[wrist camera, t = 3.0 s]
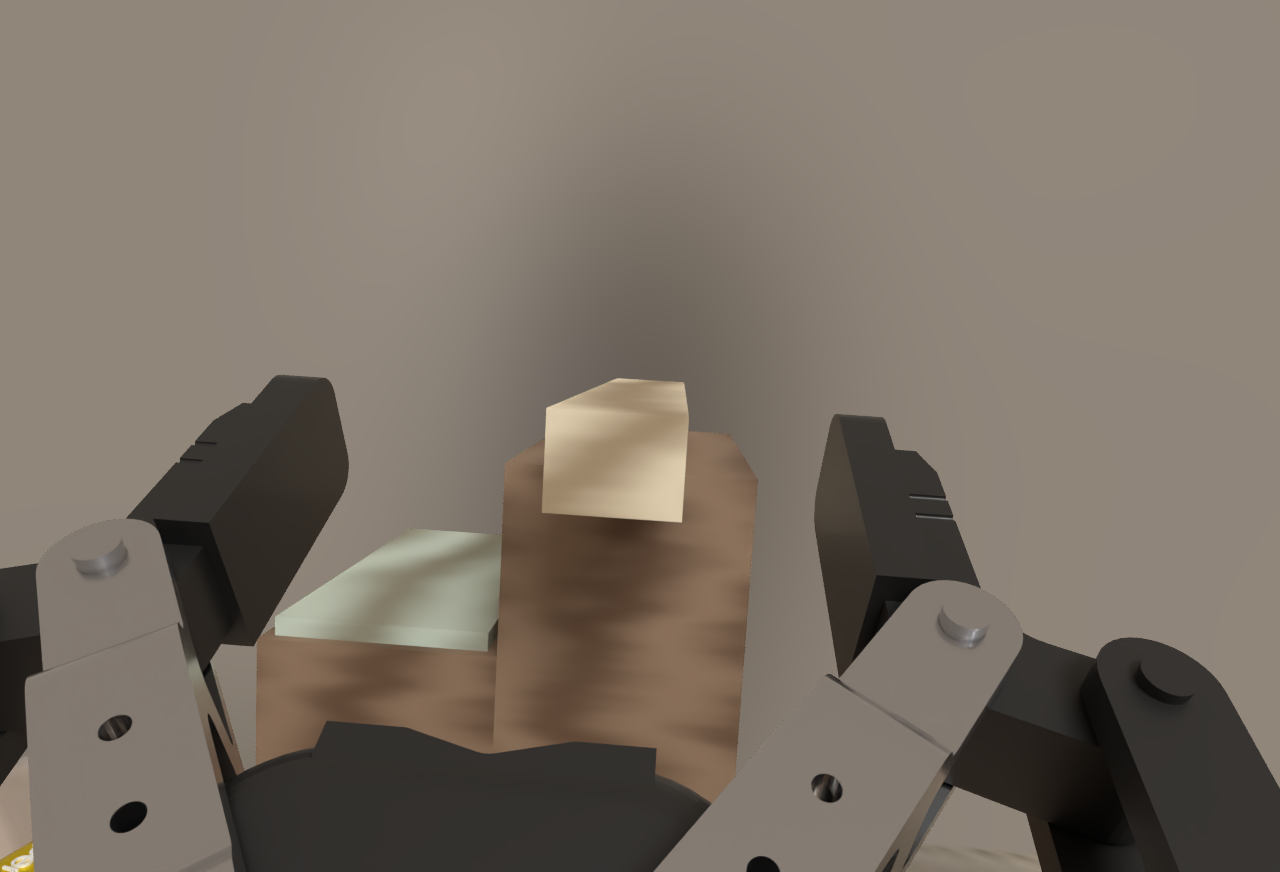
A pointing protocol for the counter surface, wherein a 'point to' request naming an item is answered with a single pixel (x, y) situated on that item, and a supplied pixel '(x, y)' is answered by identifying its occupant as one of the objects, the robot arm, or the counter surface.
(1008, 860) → the counter surface
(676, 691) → the step shelf
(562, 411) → the birch bar
